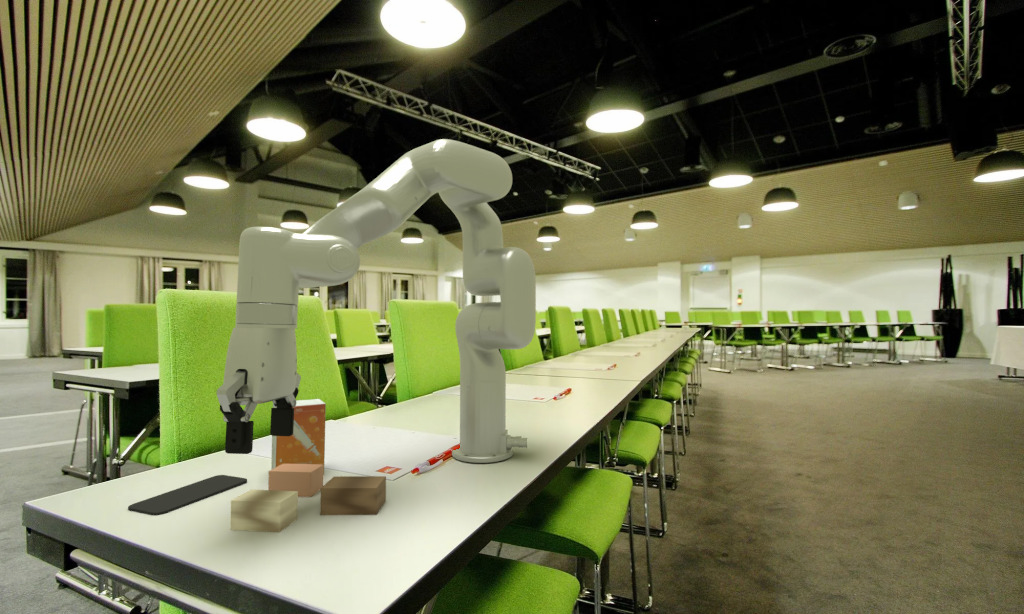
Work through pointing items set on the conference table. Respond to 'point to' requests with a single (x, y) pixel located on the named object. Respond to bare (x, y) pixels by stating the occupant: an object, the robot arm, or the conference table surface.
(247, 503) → the ash brick
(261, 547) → the conference table surface
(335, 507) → the walnut brick
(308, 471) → the terracotta brick
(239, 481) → the phone
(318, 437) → the small box
